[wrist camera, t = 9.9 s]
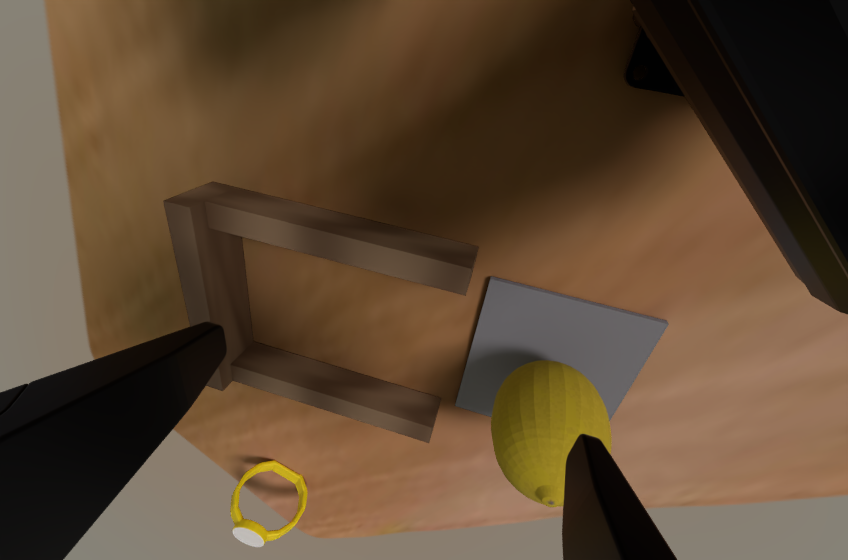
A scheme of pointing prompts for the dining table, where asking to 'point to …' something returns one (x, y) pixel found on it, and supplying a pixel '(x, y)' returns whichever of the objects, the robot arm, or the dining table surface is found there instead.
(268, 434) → the dining table surface
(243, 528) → the watch
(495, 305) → the mat
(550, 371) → the lemon
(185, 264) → the shelf lane
